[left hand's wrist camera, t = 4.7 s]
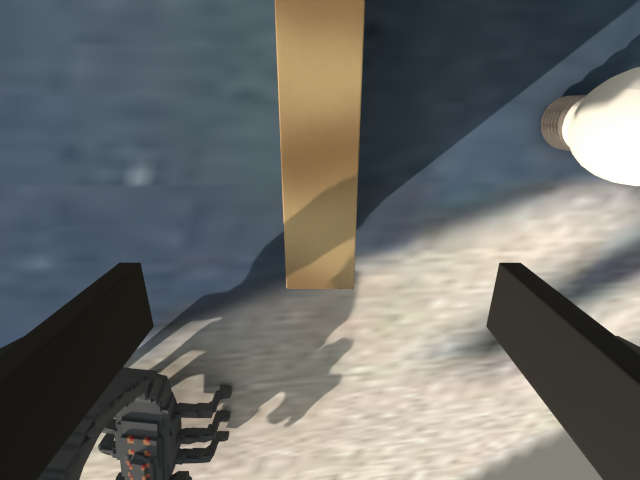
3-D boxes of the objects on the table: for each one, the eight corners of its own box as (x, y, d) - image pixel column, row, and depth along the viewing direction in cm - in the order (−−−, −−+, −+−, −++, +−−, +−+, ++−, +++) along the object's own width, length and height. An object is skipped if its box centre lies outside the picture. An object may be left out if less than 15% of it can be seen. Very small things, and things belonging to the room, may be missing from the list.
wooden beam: (343, 232, 30) (353, 289, 20) (296, 232, 30) (286, 289, 20) (353, -181, 20) (382, -427, 11) (286, -181, 20) (257, -428, 11)
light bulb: (504, 130, 26) (622, 145, 16) (576, 52, 24) (761, 12, 14) (560, 183, 28) (700, 227, 18) (632, 113, 26) (836, 117, 16)
